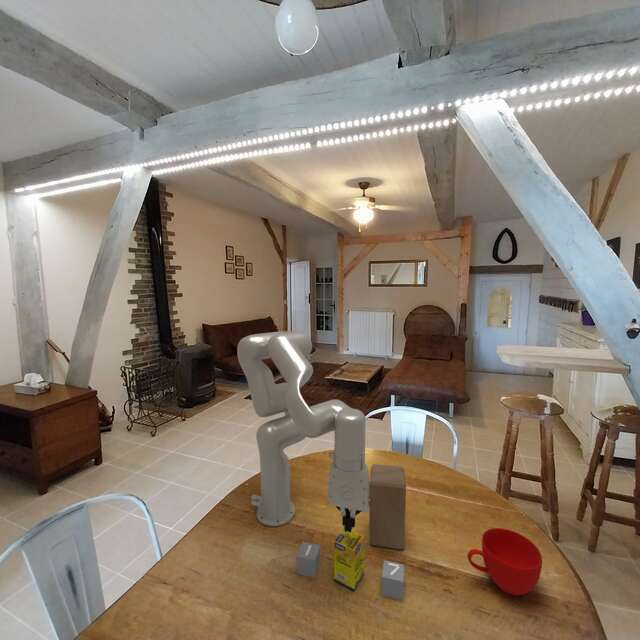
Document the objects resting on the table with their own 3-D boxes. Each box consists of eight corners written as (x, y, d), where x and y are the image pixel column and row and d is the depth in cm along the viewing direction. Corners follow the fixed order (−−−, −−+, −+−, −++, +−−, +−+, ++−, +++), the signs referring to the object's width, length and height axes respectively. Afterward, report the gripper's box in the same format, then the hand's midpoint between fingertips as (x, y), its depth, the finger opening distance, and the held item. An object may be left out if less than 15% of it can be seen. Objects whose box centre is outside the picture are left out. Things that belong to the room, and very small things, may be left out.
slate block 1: (296, 573, 86) (296, 555, 85) (302, 558, 90) (302, 541, 90) (314, 578, 84) (314, 559, 84) (320, 562, 89) (320, 545, 89)
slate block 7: (381, 595, 80) (381, 575, 79) (383, 577, 84) (383, 559, 84) (402, 601, 78) (403, 581, 78) (403, 582, 83) (404, 564, 82)
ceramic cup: (457, 561, 89) (458, 527, 88) (520, 562, 89) (522, 528, 88) (478, 607, 76) (480, 568, 75) (552, 609, 76) (555, 569, 75)
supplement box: (354, 592, 80) (354, 551, 79) (333, 581, 83) (333, 541, 82) (364, 574, 85) (365, 535, 84) (344, 564, 88) (344, 526, 87)
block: (404, 551, 92) (406, 485, 90) (368, 546, 94) (369, 480, 92) (403, 526, 102) (404, 465, 100) (370, 522, 104) (371, 462, 102)
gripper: (316, 463, 80) (316, 532, 82) (378, 473, 75) (376, 546, 77) (324, 448, 87) (324, 512, 89) (381, 456, 82) (380, 524, 85)
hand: (348, 528), depth 83 cm, fingers closed
